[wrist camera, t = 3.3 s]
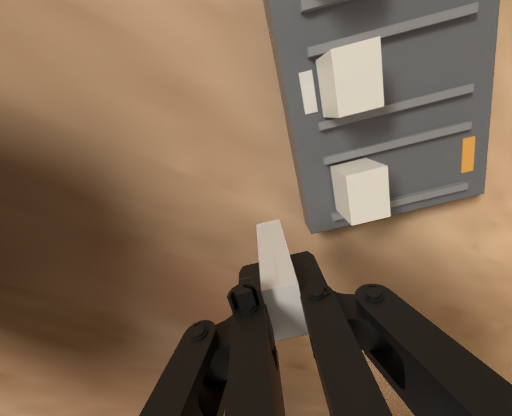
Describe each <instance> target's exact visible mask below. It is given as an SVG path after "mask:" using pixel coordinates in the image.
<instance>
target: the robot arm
mask: <svg viewBox="0 0 512 416" xmlns="http://www.w3.org/2000/svg"><path fill="white" fill-rule="evenodd" d="M256 227H257V241H258V255H259V263H255V264H251V265H246V266H243V267H242V269H241V271H240V272H239V285H237V286H235V287H234V288H232V289H231V290H230V292H229V293H228V296H227V298H228V300H229V303H230V306H231V309H232V312H233V315H232V316H231V317H229V318H228V319H227V320H225V321H223V322H221V323H219V324H217V325H215V324H214V323H213V322H212V321H209V320H203V321H199V322H197V323H195V324H193V325H192V326H190V327H189V328H188V329H187V330H186V332H185V333H184V335H183V337H182V338H181V340H180V342H179V344H178V346H177V348H176V349H175V351H174V353H173V355H172V357H171V359H170V360H169V362H168V364H167V366H166V368H165V370H164V371H163V373H162V375H161V377H160V379H159V380H158V382H157V384H156V386H155V388H154V390H153V391H152V393H151V395H150V397H149V399H148V401H147V402H146V404H145V406H144V408H143V410H142V412H141V413H140V415H139V416H223V414H224V410H225V416H285V410H284V402H283V394H282V386H281V378H280V370H279V362H278V354H277V349H276V346H275V341H279V340H283V339H288V338H293V337H298V336H303V335H308V334H309V337H310V341H311V346H312V350H313V355H314V358H315V361H316V364H317V368H318V372H319V375H320V379H321V383H322V387H323V390H324V394H325V398H326V401H327V405H328V409H329V413H330V416H392V414H391V412H390V409H389V407H388V405H387V403H386V401H385V399H384V397H383V395H382V393H381V390H380V388H379V386H378V384H377V382H376V380H375V378H374V376H373V374H372V372H371V369H370V367H369V365H368V363H367V361H366V359H365V357H364V355H363V353H362V351H361V350H363V351H364V353H365V354H366V355H367V357H368V358H369V359H370V360H371V362H372V363H373V364H374V365H375V367H376V368H377V369H378V370H379V372H380V373H381V374H382V375H383V377H384V378H385V379H386V380H387V382H388V383H389V384H390V385H391V387H392V388H393V389H394V390H395V391H396V393H397V394H398V395H399V396H400V398H401V399H402V400H403V401H404V403H405V404H406V405H407V406H408V408H409V409H410V410H411V411H412V413H413V414H414V415H415V416H512V385H511V384H510V383H509V382H508V381H506V380H505V379H504V378H502V377H501V376H500V375H499V374H497V373H496V372H495V371H493V370H492V369H491V368H490V367H488V366H487V365H486V364H484V363H483V362H482V361H481V360H479V359H478V358H477V357H475V356H474V355H473V354H472V353H470V352H469V351H468V350H466V349H465V348H464V347H463V346H461V345H460V344H459V343H457V342H456V341H455V340H454V339H452V338H451V337H450V336H448V335H447V334H446V333H445V332H443V331H442V330H441V329H439V328H438V327H437V326H436V325H434V324H433V323H432V322H430V321H429V320H428V319H427V318H425V317H424V316H423V315H421V314H420V313H419V312H418V311H416V310H415V309H414V308H412V307H411V306H410V305H409V304H407V303H406V302H405V301H403V300H402V299H401V298H400V297H398V296H397V295H396V294H394V293H393V292H392V291H391V290H389V289H388V288H386V287H384V286H382V285H378V284H366V285H362V286H361V287H359V288H358V289H357V290H356V292H355V294H341V293H337V292H335V291H333V290H332V289H331V288H330V287H329V286H328V285H327V283H326V281H325V279H324V277H323V275H322V272H321V270H320V268H319V266H318V264H317V262H316V260H315V257H314V255H312V254H311V253H309V252H308V251H305V252H301V253H297V254H292V255H290V254H289V251H288V247H287V244H286V241H285V237H284V234H283V230H282V227H281V224H280V220H279V219H277V220H273V221H269V222H264V223H260V224H256ZM274 338H275V341H274Z"/></svg>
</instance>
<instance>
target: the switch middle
mask: <svg viewBox="0 0 512 416" xmlns="http://www.w3.org/2000/svg"><path fill="white" fill-rule="evenodd" d="M316 68H317V75H318V82H319V90H320V97H321V104H322V111H323V117H331V118H340V117H344V116H348V115H352V114H356V113H360V112H364V111H368V110H372V109H376V108H380V107H384V92H383V74H382V57H381V39H380V36H378V37H375V38H371V39H367V40H363V41H360V42H356V43H352V44H348V45H345V46H341V47H337V48H333V49H330V50H329V51H328V52H326V53H325V54H324V55H322V56H321V57H320V58H318V59H317V60H316Z"/></svg>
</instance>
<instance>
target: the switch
mask: <svg viewBox="0 0 512 416" xmlns="http://www.w3.org/2000/svg"><path fill="white" fill-rule="evenodd" d="M330 169H331V176H332V183H333V190H334V198H335V205H336V210H337V211H338V212H339V213H340V214H341V215H342V216H343V217H344V218H345V219H346V220H347V221H348V222H349V223H350V225H351V226H353V225H357V224H361V223H366V222H370V221H374V220H378V219H383V218H387V217H391V213H390V196H389V179H388V166H387V165H384V164H382V163H379V162H376V161H373V160H371V159H368V158H362V159H358V160H354V161H350V162H346V163H342V164H338V165H334V166H330Z"/></svg>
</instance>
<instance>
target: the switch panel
mask: <svg viewBox="0 0 512 416" xmlns="http://www.w3.org/2000/svg"><path fill="white" fill-rule="evenodd" d="M263 2H264V7H265V12H266V17H267V23H268V28H269V33H270V39H271V44H272V49H273V54H274V60H275V65H276V70H277V76H278V81H279V86H280V91H281V97H282V102H283V107H284V113H285V118H286V123H287V128H288V134H289V139H290V144H291V150H292V155H293V160H294V165H295V171H296V176H297V181H298V187H299V192H300V197H301V202H302V208H303V213H304V218H305V223H306V225H307V227H308V229H309V231H310V232H311V234H314V233H318V232H323V231H327V230H331V229H335V228H340V227H344V226H348V225H350V223H349V222H348V221H347V220H346V219H345V218H344V217H343V216H342V215H341V214H340V213H339V212H338V211H337V210H336V205H335V198H334V190H333V183H332V176H331V169H330V166H334V165H338V164H342V163H346V162H350V161H354V160H358V159H362V158H368V159H371V160H373V161H376V162H379V163H382V164H384V165H387V166H388V179H389V196H390V213H391V215H395V214H399V213H403V212H407V211H412V210H416V209H420V208H424V207H429V206H433V205H437V204H441V203H446V202H450V201H454V200H458V199H463V198H467V197H471V196H475V195H479V194H484V187H485V175H486V163H487V150H488V138H489V126H490V114H491V101H492V89H493V77H494V65H495V52H496V40H497V28H498V16H499V3H500V0H263ZM378 36H380V39H381V57H382V74H383V92H384V107H380V108H376V109H372V110H368V111H364V112H360V113H356V114H352V115H348V116H344V117H340V118H331V117H323V111H322V104H321V97H320V90H319V82H318V75H317V68H316V60H317V59H318V58H320V57H321V56H322V55H324V54H325V53H326V52H328V51H329V50H330V49H333V48H337V47H341V46H345V45H348V44H352V43H356V42H360V41H363V40H367V39H371V38H375V37H378Z"/></svg>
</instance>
